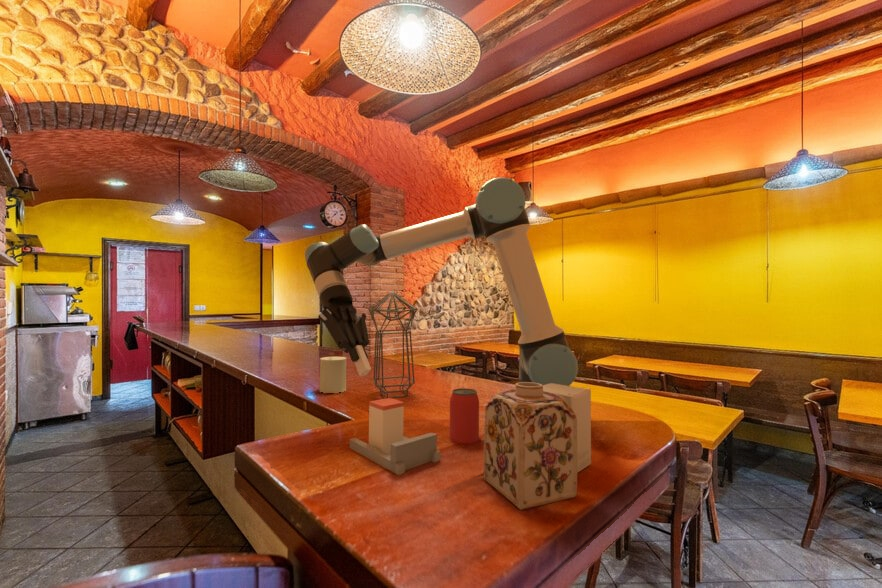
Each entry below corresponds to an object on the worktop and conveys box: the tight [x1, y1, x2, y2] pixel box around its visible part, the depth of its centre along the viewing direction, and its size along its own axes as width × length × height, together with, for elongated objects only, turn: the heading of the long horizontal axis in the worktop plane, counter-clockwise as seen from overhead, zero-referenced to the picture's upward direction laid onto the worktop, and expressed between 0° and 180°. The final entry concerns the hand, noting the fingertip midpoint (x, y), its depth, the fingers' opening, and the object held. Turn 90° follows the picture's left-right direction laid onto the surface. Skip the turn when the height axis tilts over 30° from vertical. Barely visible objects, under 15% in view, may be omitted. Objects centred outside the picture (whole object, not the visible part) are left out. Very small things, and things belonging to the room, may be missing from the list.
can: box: [318, 355, 348, 394], centre depth 140 cm, size 9×9×12 cm
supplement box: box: [543, 383, 592, 474], centre depth 78 cm, size 9×9×15 cm
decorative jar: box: [483, 381, 578, 510], centre depth 68 cm, size 12×12×18 cm
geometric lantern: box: [367, 292, 420, 398], centre depth 135 cm, size 16×16×35 cm
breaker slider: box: [368, 398, 405, 455], centre depth 80 cm, size 5×5×10 cm
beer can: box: [448, 387, 480, 444], centre depth 88 cm, size 7×7×12 cm
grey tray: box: [349, 432, 441, 476], centre depth 78 cm, size 20×12×6 cm, turn 42°
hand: (365, 372), depth 88 cm, fingers closed
